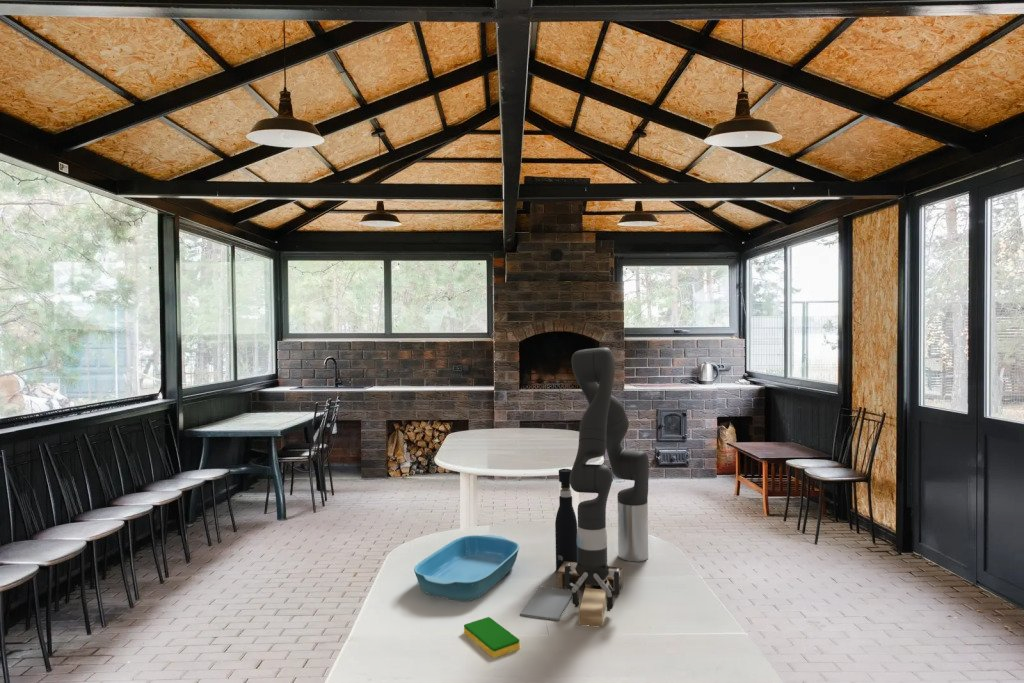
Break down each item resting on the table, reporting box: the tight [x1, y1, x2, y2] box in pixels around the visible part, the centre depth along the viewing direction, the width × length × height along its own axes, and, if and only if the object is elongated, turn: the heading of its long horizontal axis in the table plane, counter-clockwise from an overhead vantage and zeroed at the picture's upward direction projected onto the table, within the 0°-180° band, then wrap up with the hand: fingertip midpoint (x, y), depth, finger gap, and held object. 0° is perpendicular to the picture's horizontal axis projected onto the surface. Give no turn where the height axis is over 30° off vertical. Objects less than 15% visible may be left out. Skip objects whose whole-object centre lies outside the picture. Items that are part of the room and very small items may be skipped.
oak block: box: [578, 587, 607, 628], centre depth 157 cm, size 14×6×4 cm, turn 167°
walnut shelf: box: [557, 561, 624, 598], centre depth 171 cm, size 7×17×5 cm, turn 71°
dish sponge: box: [463, 616, 521, 659], centre depth 144 cm, size 7×14×2 cm, turn 33°
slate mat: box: [519, 585, 572, 622], centre depth 162 cm, size 17×10×1 cm, turn 161°
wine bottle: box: [554, 468, 578, 574], centre depth 183 cm, size 6×6×30 cm
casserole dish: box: [413, 534, 520, 602], centre depth 179 cm, size 37×22×7 cm, turn 155°
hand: (592, 607), depth 156 cm, fingers open, 7 cm apart
